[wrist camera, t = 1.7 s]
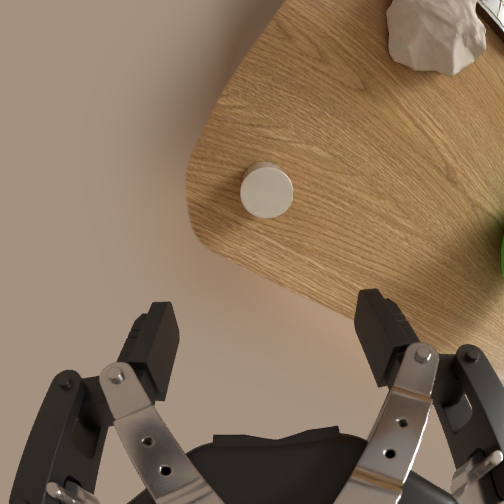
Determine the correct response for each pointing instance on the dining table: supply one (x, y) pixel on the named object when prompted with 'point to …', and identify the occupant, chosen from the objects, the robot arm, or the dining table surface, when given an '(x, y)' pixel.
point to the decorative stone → (435, 34)
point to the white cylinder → (266, 190)
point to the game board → (492, 14)
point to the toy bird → (502, 257)
